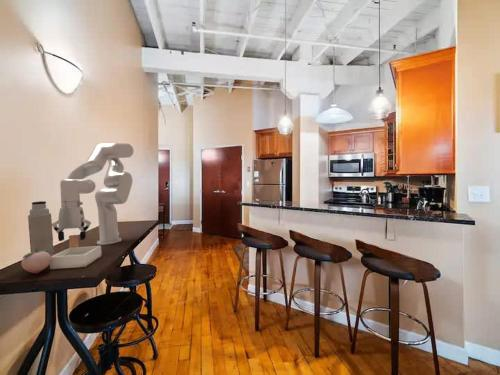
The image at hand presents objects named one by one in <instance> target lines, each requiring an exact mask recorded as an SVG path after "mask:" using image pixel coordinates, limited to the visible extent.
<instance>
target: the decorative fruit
mask: <svg viewBox="0 0 500 375" xmlns="http://www.w3.org/2000/svg"><path fill="white" fill-rule="evenodd" d="M45 251H46V252H45ZM47 252H48V251H47V250H39V251H37V249H36V252H31V251H30V252H27V253H26V254H24V255H23V256H22V260H21V267H22V268H23V269H24V270H25V271H26V272H28V273H31V274H39V273H40V272H42V271H44V270H45V269H47V268H48V267H49V266H50V265H49V264H50V261H51V256H50V254H49V253H47ZM48 265H49V266H48Z"/></svg>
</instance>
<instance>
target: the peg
mask: <svg viewBox="0 0 500 375" xmlns="http://www.w3.org/2000/svg"><path fill="white" fill-rule="evenodd" d="M68 241H69V242H68V243H69V244H68V245H69V248H72V247H80V246H79V235H78V234H72V235H69V236H68Z"/></svg>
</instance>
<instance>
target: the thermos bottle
mask: <svg viewBox="0 0 500 375" xmlns="http://www.w3.org/2000/svg"><path fill="white" fill-rule="evenodd" d="M28 213H29V215H28V216H27V222H28V234H29V235H28V236H29V247H30V252H36V249H37V251H39V250H47V251H48V252H47V253H49V254H50V256H53V255H55V249H54V236H53V235H54V234H53V226H52V224H53V221H52V213H50V209H49V208H48V207H47V201H33V202H31V209H29V212H28ZM45 252H46V251H45ZM48 267H50V264H49V265H48Z"/></svg>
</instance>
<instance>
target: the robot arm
mask: <svg viewBox="0 0 500 375" xmlns="http://www.w3.org/2000/svg"><path fill="white" fill-rule="evenodd" d="M133 155H134V148H133V146H132V145H131V144H130V143H126V142H125V143H119V142H116V143H115V142H112V143H111V142H109V143H108V142H107V143H99V144H97V145H95V147H94V149H93V151H92V152H91V153H90V156H88V158H87V159H86V161H85V162H84V163H82V164H80V165H79V166H78V167H75V169H73V170H72V171H71V172H69V174H68V176H67V177H66V179H62V180H60V184H59V185H60V186H59V187H60V207H59V210H58V211H59V212H58V218H57V219H58V220H57V221H55V222H52V229H53V230H54V231H55V232H56V233H57V239H58V242H62V241H65V233H64V230H65V229H66V230H67V229H69V230H70V229H78V230H79V231H80V232H79V240H80V241H83V240H85V239H86V238H87V236H86V235H87V232H86V231H87V230H88V229H89V228H90V226H91V224H92V222H91V221H90V220H87V219H85V213H84V210H83V209H84V208H83V207H82V206H83V201H81V199H80V197H81V195H83V194H91V193H93V192H94V191H95V190H96V187H97V186H96V183H95V181H94V180H92V179H90V178H89V179H88V178H87V177H89V176H92V175H95V174H97V173H99V172H101V171H103V169H104V167H105V166H106V163H107V162H108V166H107V170H106V172H105V176H104V178H103V185H104V186H105V187H102V188H100V189H98V190H97V191H96V192H95V194H94V198H95V203H96V207H97V216H98V229H99V230H98V231H99V240H97V241H96V244H97V245H98V246H102V245H103V246H104V245H113V244H116V243H117V244H118V243H120V242H121V241H122V238H121V237H119V236H120V232H119V229H118V228H119V227H118V212H117V211H118V210H117V209H116V207H115V205H124V204H125V203H127V202H128V199H129V195H130V193H131V189H132V185H133V176H132V175H131V173H130V172H128V171H124V169H125V168H124V164H123V163H122V161H121V160H120V159H125V158H131V157H132V156H133ZM80 194H81V195H80ZM81 205H82V206H81Z"/></svg>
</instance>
